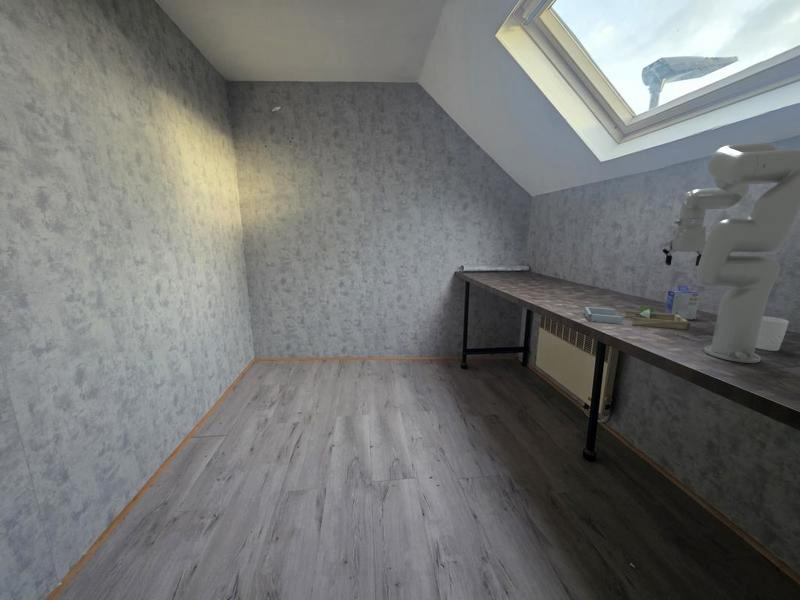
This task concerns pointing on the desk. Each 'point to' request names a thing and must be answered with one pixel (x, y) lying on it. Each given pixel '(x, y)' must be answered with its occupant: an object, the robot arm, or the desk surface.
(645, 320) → the wooden tray
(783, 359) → the desk surface
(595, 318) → the bay
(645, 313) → the geometric puzzle
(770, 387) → the desk surface
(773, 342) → the white cup
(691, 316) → the ink cartridge box
